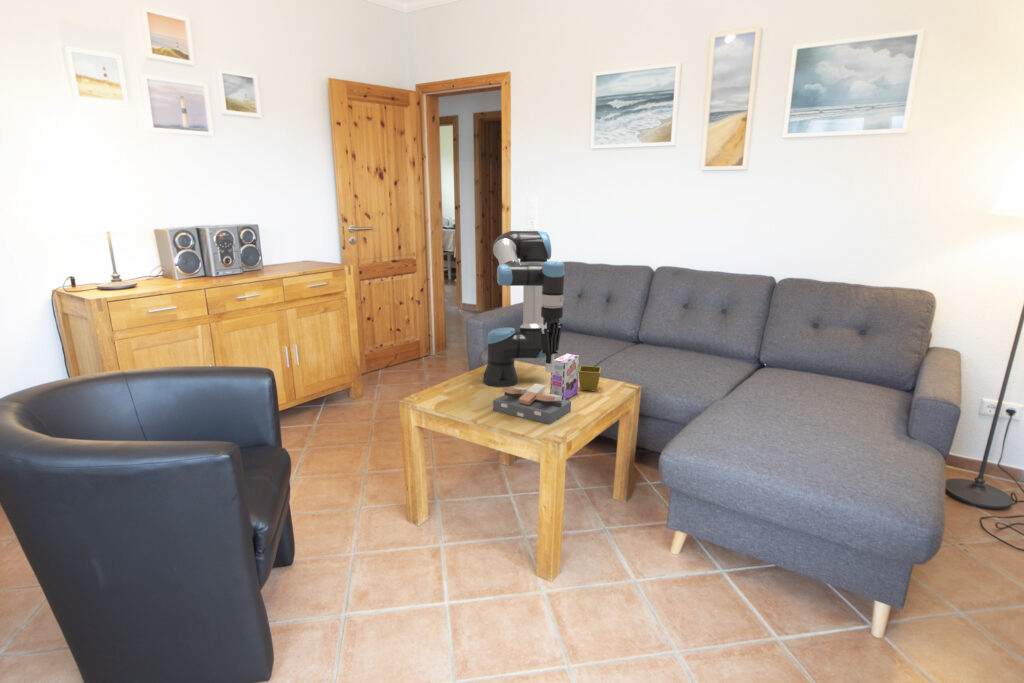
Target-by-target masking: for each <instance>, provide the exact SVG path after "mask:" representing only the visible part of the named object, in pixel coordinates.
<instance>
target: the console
mask: <svg viewBox="0 0 1024 683" xmlns="http://www.w3.org/2000/svg"><path fill="white" fill-rule="evenodd" d="M503 393H504V394H503V395H501V396H499V397H497V398H495V399H493V400H492V411H494V412H499V413H501V414H502V413H503V414H506V415H509V416H510V415H511V416H513V417H518V418H523V419H526V420H531V421H535V422H538V423H543V424H547V425H551V424H553V423H554V422H556V421H558V420H560V419H561V418H562V417H565V415H567V414H569V413H571V411H572V409H571V408H572V401H571V400H568V399H567V400H563V399H562V400H561V401H542V400H538V399H535V400H534V401H533V402H532V403H531V404H530V405H527V404H523V403H519V398H520V397H521V396H522V395H523V394H511V393H506V392H503Z"/></svg>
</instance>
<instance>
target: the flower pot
mask: <svg viewBox="0 0 1024 683" xmlns="http://www.w3.org/2000/svg"><path fill="white" fill-rule="evenodd" d="M579 366H580V367H579V370H578V384H579V386H580V388H581V390H582V391H584V390H595V391H596V390H597V388H598V385H599V382H600V381H599V380H600V376H601V371H602V367H601V366H592V365H591V366H590V365H579Z"/></svg>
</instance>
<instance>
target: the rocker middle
mask: <svg viewBox="0 0 1024 683" xmlns="http://www.w3.org/2000/svg"><path fill="white" fill-rule="evenodd" d="M528 389H529V390H528V391H527V392H526V393H524V394H523V395H522V396H521V397H520V398H519V403H523V404H527V405H530V404H531V403H532V402H533V401H534V400H535V399H536V395H539V394H542V393H543V392H544V391H545V390H546V385H544V384H539V383H534V384H533V385H532V386H531V387H529V388H528Z"/></svg>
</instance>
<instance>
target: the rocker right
mask: <svg viewBox="0 0 1024 683" xmlns="http://www.w3.org/2000/svg"><path fill="white" fill-rule="evenodd" d="M536 399H538V400H542V401H561V400H562V396H558V395H554V394H550V393H549V394H548V393H546V394H545V393H544V394H542V393H541V394H539V395H536Z"/></svg>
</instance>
